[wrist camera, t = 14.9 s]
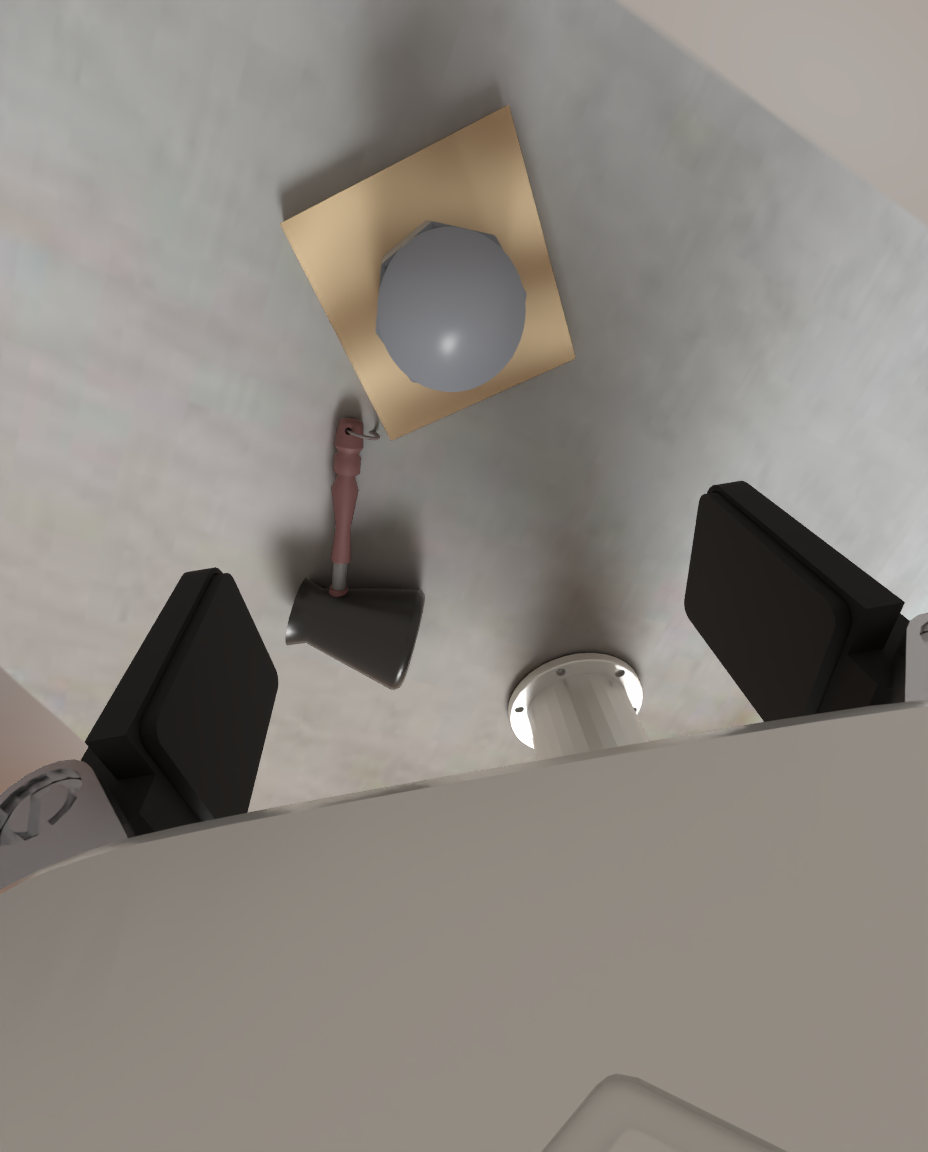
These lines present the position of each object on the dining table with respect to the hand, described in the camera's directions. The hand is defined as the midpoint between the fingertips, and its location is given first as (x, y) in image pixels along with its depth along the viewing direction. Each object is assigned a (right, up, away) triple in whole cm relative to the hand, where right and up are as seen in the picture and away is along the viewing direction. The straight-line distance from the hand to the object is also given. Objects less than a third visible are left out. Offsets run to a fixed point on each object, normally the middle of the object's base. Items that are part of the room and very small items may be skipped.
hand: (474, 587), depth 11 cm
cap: (-1, +15, +17) cm, 22 cm away
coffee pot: (-7, +3, +28) cm, 28 cm away
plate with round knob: (-2, +16, +19) cm, 24 cm away
